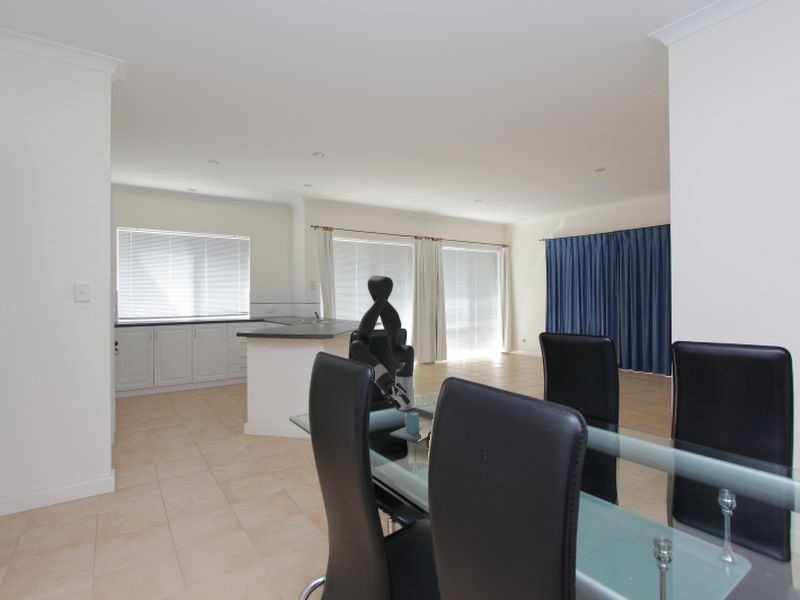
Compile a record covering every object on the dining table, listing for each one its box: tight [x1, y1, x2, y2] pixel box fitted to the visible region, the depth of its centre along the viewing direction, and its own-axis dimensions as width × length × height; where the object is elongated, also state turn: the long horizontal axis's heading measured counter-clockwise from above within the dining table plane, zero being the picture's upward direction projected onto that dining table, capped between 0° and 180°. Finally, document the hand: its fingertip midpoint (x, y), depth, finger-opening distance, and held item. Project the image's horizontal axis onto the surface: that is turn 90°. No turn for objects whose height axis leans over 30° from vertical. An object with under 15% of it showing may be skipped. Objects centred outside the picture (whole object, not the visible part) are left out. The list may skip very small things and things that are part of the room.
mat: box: [389, 426, 423, 442], centre depth 176 cm, size 14×14×1 cm
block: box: [405, 411, 420, 434], centre depth 176 cm, size 4×4×8 cm
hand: (404, 405), depth 178 cm, fingers open, 8 cm apart
